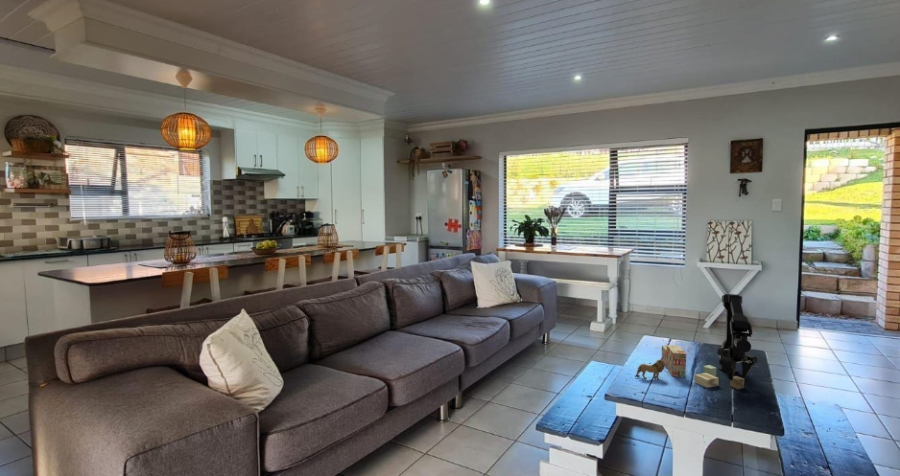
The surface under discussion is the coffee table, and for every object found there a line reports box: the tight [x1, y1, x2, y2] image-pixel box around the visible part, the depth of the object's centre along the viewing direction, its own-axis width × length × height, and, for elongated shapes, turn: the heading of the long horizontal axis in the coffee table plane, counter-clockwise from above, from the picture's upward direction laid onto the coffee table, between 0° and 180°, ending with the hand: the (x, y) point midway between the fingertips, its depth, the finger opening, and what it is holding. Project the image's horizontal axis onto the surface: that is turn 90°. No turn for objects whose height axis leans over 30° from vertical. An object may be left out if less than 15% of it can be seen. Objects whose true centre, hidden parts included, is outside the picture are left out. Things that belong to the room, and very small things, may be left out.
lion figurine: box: [634, 359, 665, 380], centre depth 224 cm, size 15×5×9 cm, turn 93°
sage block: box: [702, 364, 717, 377], centre depth 227 cm, size 4×4×4 cm
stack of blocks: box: [661, 344, 687, 378], centre depth 235 cm, size 21×6×12 cm, turn 169°
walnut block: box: [729, 375, 745, 390], centre depth 213 cm, size 4×4×4 cm
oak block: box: [694, 372, 720, 389], centre depth 216 cm, size 7×7×4 cm
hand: (737, 378), depth 213 cm, fingers open, 9 cm apart
